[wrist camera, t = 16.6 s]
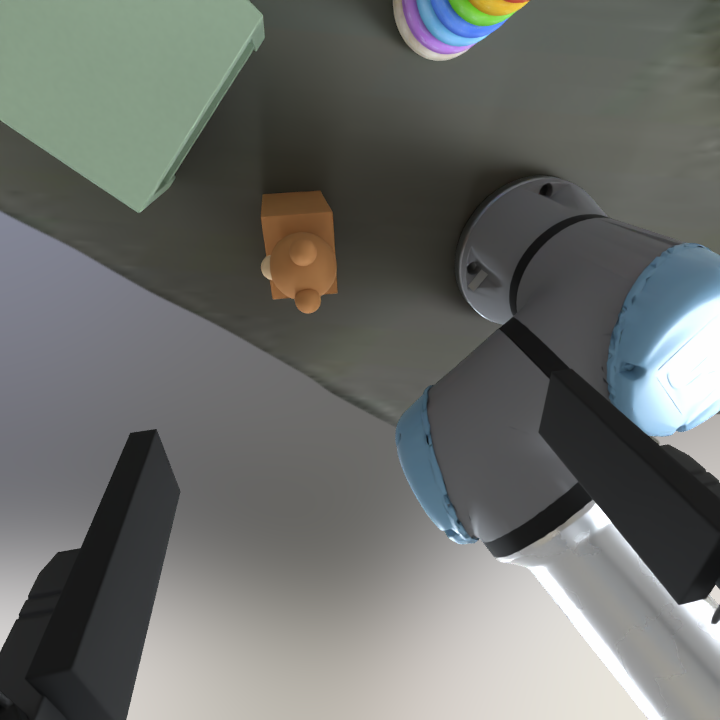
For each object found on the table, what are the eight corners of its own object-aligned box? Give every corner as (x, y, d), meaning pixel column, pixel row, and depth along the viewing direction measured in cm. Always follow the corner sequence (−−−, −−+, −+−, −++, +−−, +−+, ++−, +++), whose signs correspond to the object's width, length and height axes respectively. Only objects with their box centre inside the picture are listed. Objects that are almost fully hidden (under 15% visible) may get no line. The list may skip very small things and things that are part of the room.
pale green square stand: (265, 37, 33) (263, 15, 24) (169, 188, 37) (139, 213, 28) (90, -137, 27) (7, -248, 18) (-2, 65, 31) (-105, 51, 22)
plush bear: (320, 190, 39) (343, 229, 27) (325, 259, 42) (347, 321, 30) (257, 194, 38) (252, 236, 26) (267, 264, 41) (267, 329, 29)
